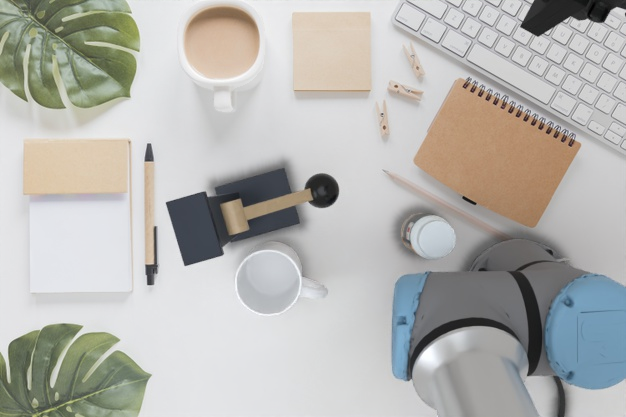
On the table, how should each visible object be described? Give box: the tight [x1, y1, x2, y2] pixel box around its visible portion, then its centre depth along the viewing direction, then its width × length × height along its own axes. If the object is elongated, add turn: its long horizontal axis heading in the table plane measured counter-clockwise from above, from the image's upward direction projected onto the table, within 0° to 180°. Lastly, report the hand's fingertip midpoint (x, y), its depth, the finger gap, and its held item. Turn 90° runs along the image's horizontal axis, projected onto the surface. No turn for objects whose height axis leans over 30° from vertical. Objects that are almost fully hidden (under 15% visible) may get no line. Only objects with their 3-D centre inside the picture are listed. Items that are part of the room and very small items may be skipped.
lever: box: [220, 172, 340, 235], centre depth 54 cm, size 13×4×4 cm
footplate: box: [214, 167, 301, 244], centre depth 76 cm, size 10×8×1 cm
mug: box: [234, 240, 329, 317], centre depth 72 cm, size 12×8×10 cm
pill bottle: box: [400, 212, 457, 260], centre depth 72 cm, size 6×6×10 cm
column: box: [165, 190, 240, 267], centre depth 62 cm, size 4×6×27 cm, turn 16°
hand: (538, 14), depth 38 cm, fingers closed
